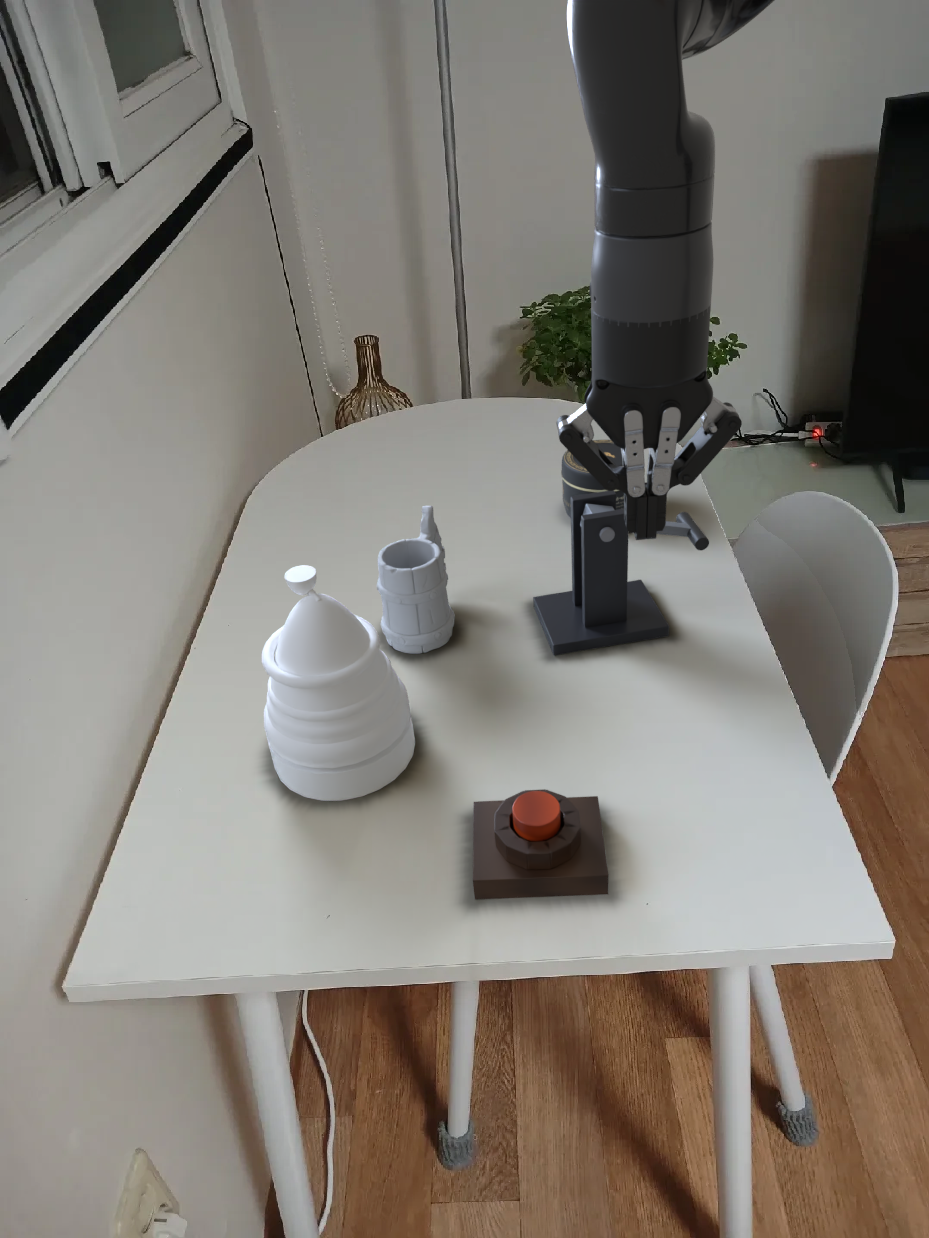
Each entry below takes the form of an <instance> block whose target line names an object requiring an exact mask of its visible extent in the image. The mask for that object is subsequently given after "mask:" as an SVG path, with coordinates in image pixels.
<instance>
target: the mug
mask: <svg viewBox="0 0 929 1238" xmlns="http://www.w3.org/2000/svg"><path fill="white" fill-rule="evenodd" d="M421 514H422V515H421V520H420V525H419V526H420V528H419V529H420V531H419V536H418V537H416V538H414V537H413V538H403V539H398V540H397V541H393V542H391V543H388V544H387V545H385V546H384V547H382V549H380V550H379V552H378V556H377V568H378V578H377V581H376V582H377V583H376V590H377V591H378V593H379V594H380V597H381V603H382V605H381V606H382V615H381V618H380V620H381V621H380V628H381V631H382V634H383V635H384V636H385V639H386V641H387V643H388V645H389V646H391V647H392V648H393V649H394V650H395V651H397V652H401V653H404V654H413V655H414V654H415V655H416V654H423V653H424V654H425V653H428V652H430V651H433V650H436V649H439V648H441V647H443V646H445V645H446V644H447V643H448V642H449V641H450V638H452V636H453V627H454V626H455V618H456V616H455V612H454V610H453V608H452V607H451V606H450V604H449V603H450V602H449V598H448V597H449V596H448V591H447V585H448V582H449V581H448V580H449V576H448V572H447V565H446V562H445V559H446V551H445V547H444V545H443V544H442V543H443V542H442V537H441V535H440V532H439V529H438V525H437V523H436V522H435V518H434V506H433V505H422V506H421Z"/></svg>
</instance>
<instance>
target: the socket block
mask: <svg viewBox="0 0 929 1238" xmlns="http://www.w3.org/2000/svg"><path fill="white" fill-rule="evenodd" d="M531 791H542V792H546V793H549V794H551V795H552V796H554V797H555V798H556V799H557V801H558V802H559V804H560V817H561V825H560V829H559V831H558V832H557V834H556V835H555V836H553V837H552V838H550V839H548V840H545V841H538V842H536V841H529V840H526V839H524V838H522V837H521V836H519V835H518V834H517V832H516V831H515V829H514V825H513V812H512V807H513V804H514V802H515V800H516V799H517V798H518V797H519V796H521V795H522V794H524V793H527V792H531ZM472 818H473V820H472V821H473V822H472V826H473V827H472V889H473V896H474V901H475V900H498V899H500V900H501V899H525V898H550V897H577V896H578V897H579V896H600V895H601V896H603V895H604V896H605V895H609V870H608V863H607V854H606V848H605V847H606V846H605V839H604V832H603V825H602V818H601V809H600V802H599V797H598V795H594V796H570V797H567V796H565V795H562V794H561V793H557V792H555V791H552V790H549V789H545V788H544V789H525V790H522V791H520V792H518V793H515V794H514V795H512V796H511V795H510V796H509V797H507V798H505V799H504V800H503V799H502V800H481V801H473V817H472Z"/></svg>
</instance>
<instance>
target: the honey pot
mask: <svg viewBox="0 0 929 1238" xmlns="http://www.w3.org/2000/svg"><path fill="white" fill-rule="evenodd" d="M284 580H285V582H286V585H287V586H288V588H289V589H290V590H291V591H292V592H293V593H295V594H297V595H299V596H303V597H302V598H301V599H300V600H298V601H297V603H296V604H295V605H294V606H293V607H292V609H291V610H290V612H289V613H288V615H287V618H286V619H285V622H284V625H282V626H281V627H279V628H278V629H277V630H275V631H274V632H273V633H272V634H271V635H270V637H269V638H268V639H267V640H266V641H265V643H264V645H263V648H262V650H261V665H262V667H263V670H264V671H265V673H266V675H268V676H269V678H268V680H267V693H266V703H265V706H264V709H263V729H264V732H265V737H266V739H267V744H268V748H269V751H270V754H271V759H272V763H273V767H274V770H275V772H276V774H277V776H278V778H279V781H281V782H282V784H284V785H285V786H286V787H287V788H288V789H289V790H290V791H292V792H293V793H296V794H297V795H299V796H302V797H304V798H308V799H312V800H317V801H322V802H323V801H326V802H327V801H328V802H329V801H330V802H332V801H333V802H336V801H337V802H339V801H347V800H352V799H357V798H362V797H364V796H367V795H369V794H372V793H374V792H377V791H379V790H381V789H382V788H384V787H386V786H388V785H389V784H391V783H392V782H394V781H395V780H396V779H397V778H398V777H399V776H400V775H401V774H402V773H403V772H404V770H406V768H407V767H408V765H409V763H410V761H411V760H412V758H413V756H414V753H415V752H414V751H415V747H416V738H415V731H414V725H413V718H412V713H411V706H410V699H409V695H408V690H407V688H406V685H405V683H404V682H403V680H402V679H401V677H400V676H399V675H398V674H397V671H396V670H395V669H394V667H393V665H392V662H391V660H390V659H389V657H388V656H387V654H386V653H385V651H383V650H382V649H380V647H381V639H380V633H379V632H378V631H377V629H376V627H375V626H374V625H373V624H372V623H371V622H369V621H368V620H367V619H366V618H363V617H361V616H359V615H356V614H354V613H353V612H352V611H351V609H349V608H348V607H347V606H346V605H344V603H342V602H341V601H339V600H337V599H336V598H334V597H333V596H331V595H329V594H325V593H320V592H319V593H318V592H316V590H314V589H315V587H316V583H317V570H316V568H315V567H314V566H311V565H308V564H302V565H296V566H293V567H291V568H289V569H288V570H287V571H286V572H285V573H284Z"/></svg>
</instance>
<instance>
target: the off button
mask: <svg viewBox="0 0 929 1238" xmlns="http://www.w3.org/2000/svg"><path fill="white" fill-rule="evenodd" d="M512 812H513V825H514V829H515V831H516V832H517V834H518V835H519V836H521V837H522V838H524V839H526V840H529V841H536V842H538V841H545V840H548V839H550V838H552V837H553V836H555V835H556V834H557V832H558V831H559V829H560V825H561V817H560V804H559V802H558V801H557V799H556V798H555V797H554V796H552V795H551V794H549V793H546V792H542V791H531V792H527V793H524V794H522V795H521V796H519V797H518V798H517V799H516V800H515V802H514V804H513V807H512Z"/></svg>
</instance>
